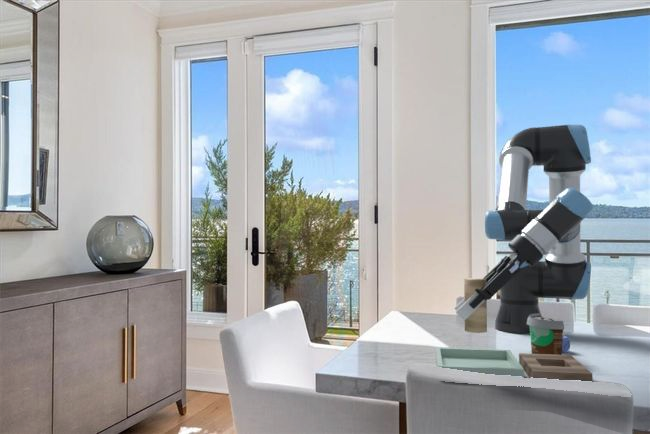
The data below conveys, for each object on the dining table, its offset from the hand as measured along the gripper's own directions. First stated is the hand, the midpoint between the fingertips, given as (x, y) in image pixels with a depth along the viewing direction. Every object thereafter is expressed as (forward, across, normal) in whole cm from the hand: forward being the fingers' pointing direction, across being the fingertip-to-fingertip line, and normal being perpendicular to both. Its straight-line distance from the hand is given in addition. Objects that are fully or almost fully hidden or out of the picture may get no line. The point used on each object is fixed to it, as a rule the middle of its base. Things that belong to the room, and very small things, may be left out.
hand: (459, 313), depth 124 cm
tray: (+7, +1, -12) cm, 14 cm away
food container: (-6, +18, -25) cm, 31 cm away
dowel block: (-5, +1, -24) cm, 25 cm away
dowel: (0, 0, -5) cm, 5 cm away
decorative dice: (-10, +24, -29) cm, 39 cm away
